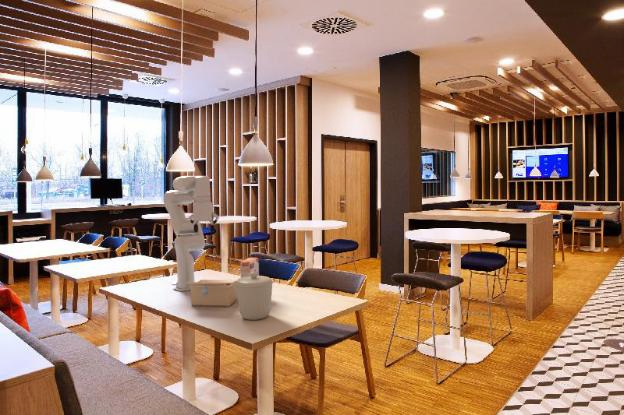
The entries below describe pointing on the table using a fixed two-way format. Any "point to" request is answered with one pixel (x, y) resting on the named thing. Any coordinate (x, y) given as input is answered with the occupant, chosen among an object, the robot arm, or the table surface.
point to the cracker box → (249, 266)
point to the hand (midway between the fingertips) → (204, 232)
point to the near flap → (206, 285)
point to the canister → (254, 296)
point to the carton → (214, 294)
